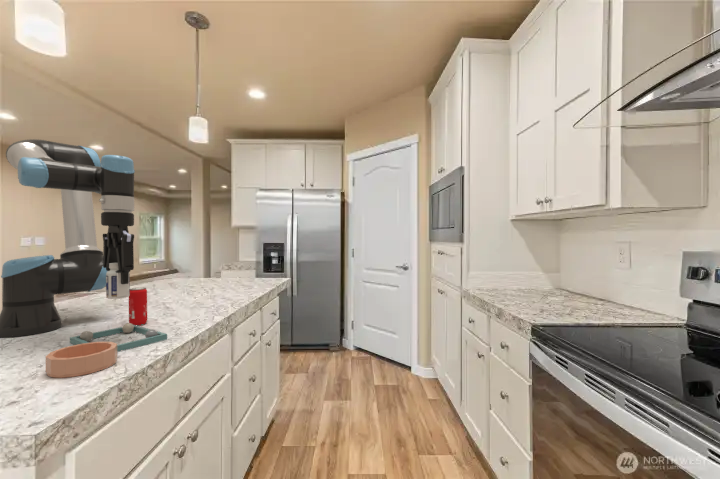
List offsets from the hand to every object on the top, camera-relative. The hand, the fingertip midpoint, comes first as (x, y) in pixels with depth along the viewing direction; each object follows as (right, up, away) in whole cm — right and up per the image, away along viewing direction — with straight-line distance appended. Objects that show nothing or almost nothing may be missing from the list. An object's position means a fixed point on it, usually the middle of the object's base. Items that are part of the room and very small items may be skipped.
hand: (118, 294), depth 95 cm
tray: (0, -13, 0) cm, 13 cm away
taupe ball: (-8, -13, -1) cm, 16 cm away
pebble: (-3, -13, +8) cm, 15 cm away
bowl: (+6, -13, -19) cm, 24 cm away
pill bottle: (0, -1, 0) cm, 1 cm away
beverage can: (-7, -13, +19) cm, 24 cm away
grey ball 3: (+9, -13, 0) cm, 16 cm away
